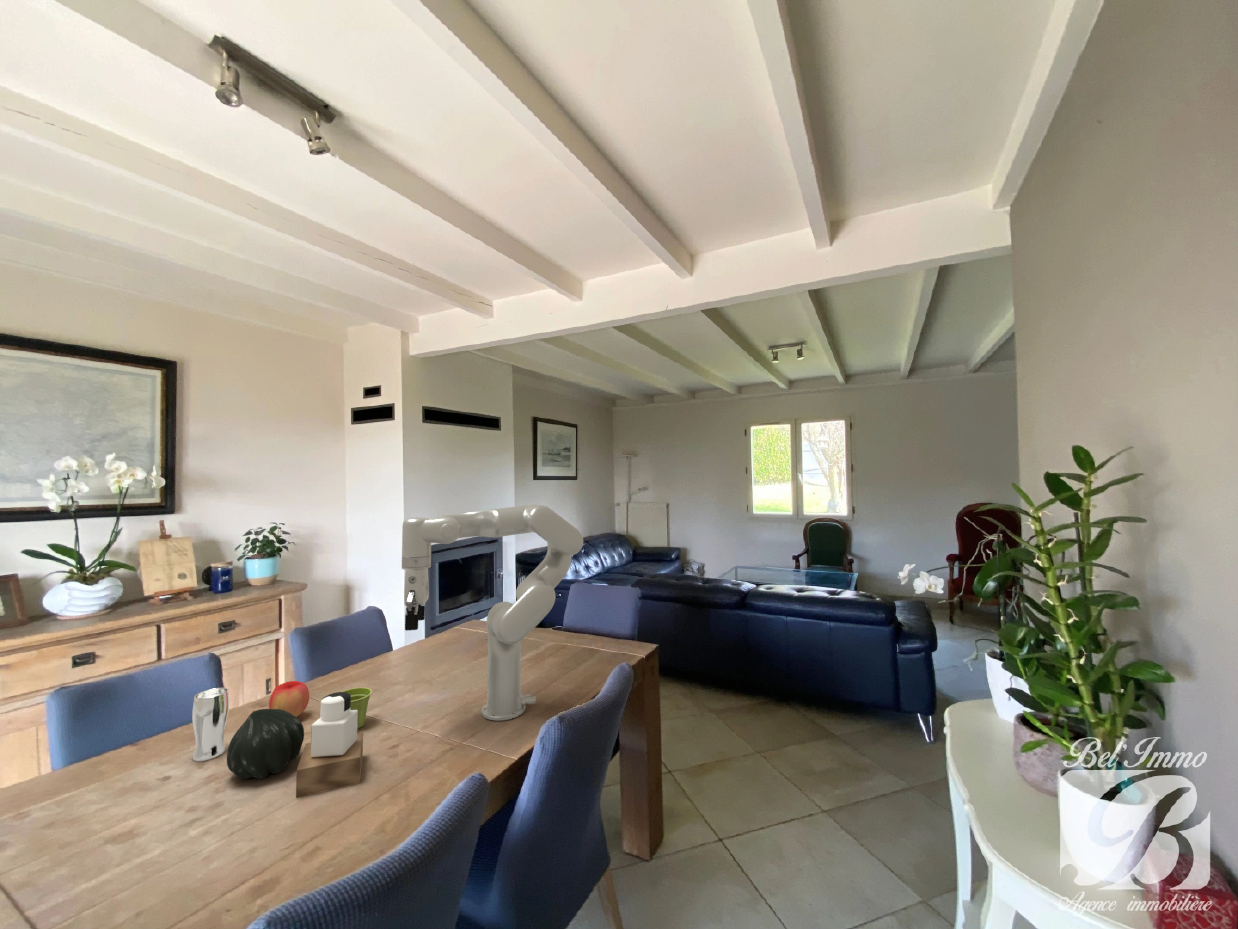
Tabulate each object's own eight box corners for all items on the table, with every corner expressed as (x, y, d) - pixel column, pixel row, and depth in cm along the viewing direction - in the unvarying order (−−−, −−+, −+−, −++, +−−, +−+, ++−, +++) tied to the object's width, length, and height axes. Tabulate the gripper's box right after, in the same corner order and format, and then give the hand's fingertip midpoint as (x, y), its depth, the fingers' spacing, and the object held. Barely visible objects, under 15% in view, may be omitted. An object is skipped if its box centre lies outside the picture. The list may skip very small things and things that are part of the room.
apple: (260, 723, 135) (262, 687, 135) (296, 709, 143) (297, 675, 144) (279, 731, 130) (281, 693, 131) (315, 716, 139) (316, 681, 139)
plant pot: (354, 736, 127) (355, 703, 128) (324, 733, 129) (325, 700, 130) (378, 720, 137) (379, 688, 137) (350, 717, 138) (350, 686, 139)
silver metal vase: (233, 750, 121) (236, 689, 122) (202, 765, 114) (205, 700, 115) (215, 745, 123) (217, 685, 124) (183, 759, 117) (186, 696, 117)
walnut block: (362, 757, 118) (363, 732, 118) (359, 784, 107) (360, 757, 108) (305, 769, 113) (305, 743, 113) (295, 799, 102) (296, 770, 102)
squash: (326, 726, 122) (283, 684, 120) (297, 761, 107) (248, 714, 106) (280, 767, 120) (236, 726, 118) (244, 809, 105) (193, 762, 104)
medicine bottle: (326, 742, 114) (327, 690, 115) (357, 740, 114) (358, 688, 116) (309, 758, 107) (311, 702, 108) (343, 755, 107) (344, 700, 108)
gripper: (425, 566, 125) (423, 633, 125) (435, 557, 142) (434, 616, 141) (394, 568, 124) (392, 635, 123) (408, 558, 141) (407, 617, 140)
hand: (415, 624), depth 132 cm, fingers open, 9 cm apart
